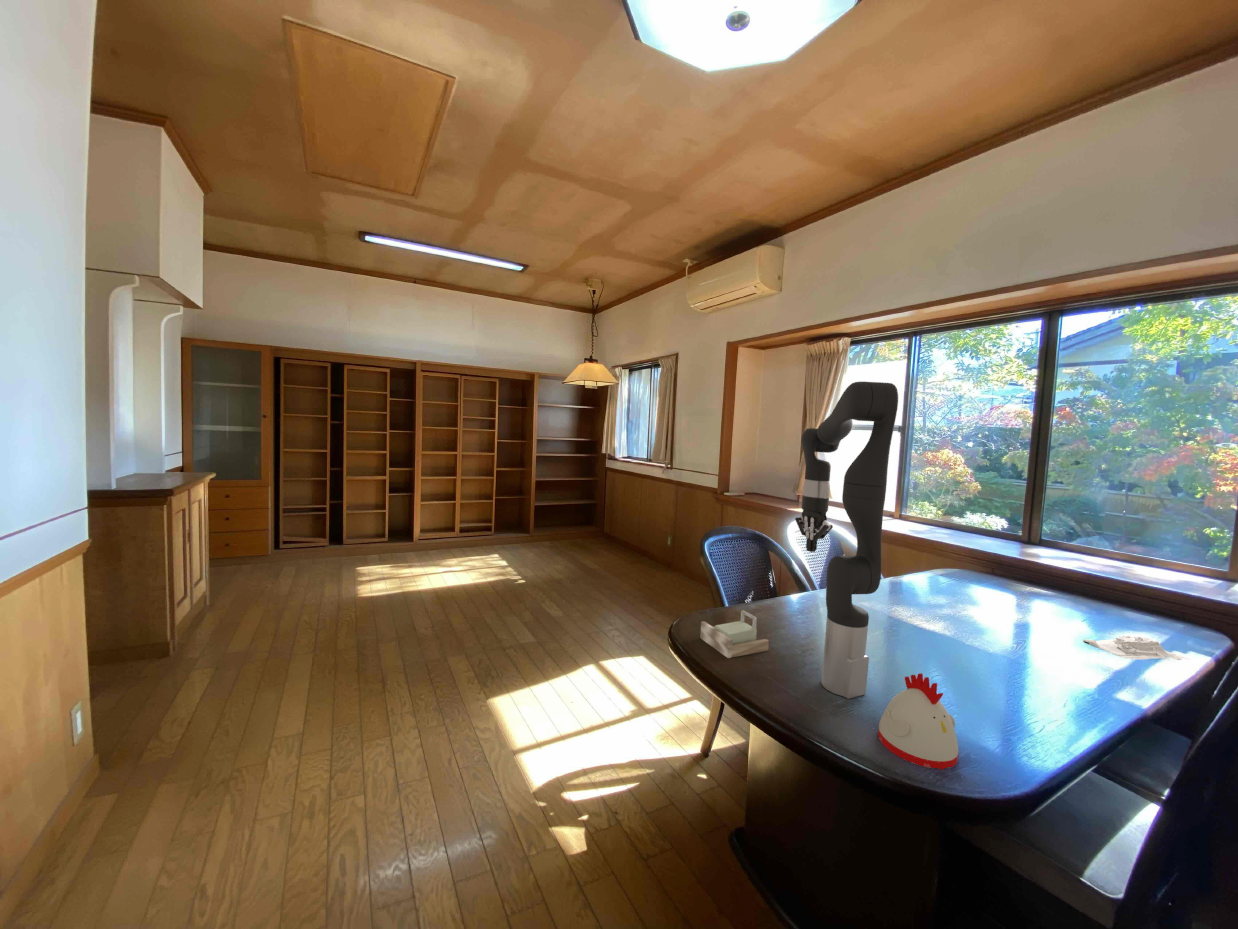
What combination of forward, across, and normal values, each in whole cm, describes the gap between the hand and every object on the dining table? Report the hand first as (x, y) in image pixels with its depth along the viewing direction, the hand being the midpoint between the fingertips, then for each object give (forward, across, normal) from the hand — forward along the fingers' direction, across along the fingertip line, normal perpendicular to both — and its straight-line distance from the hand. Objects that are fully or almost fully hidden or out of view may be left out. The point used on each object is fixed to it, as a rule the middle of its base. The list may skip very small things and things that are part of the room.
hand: (811, 551), depth 149 cm
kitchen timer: (+27, +48, -18) cm, 58 cm away
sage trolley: (+27, -2, -25) cm, 37 cm away
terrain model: (+28, +42, +97) cm, 109 cm away
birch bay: (+27, -3, -24) cm, 36 cm away
